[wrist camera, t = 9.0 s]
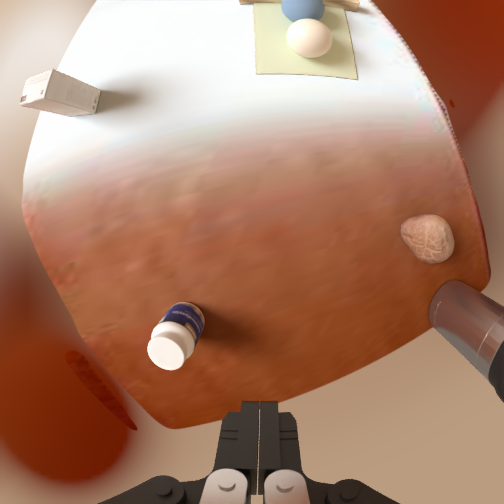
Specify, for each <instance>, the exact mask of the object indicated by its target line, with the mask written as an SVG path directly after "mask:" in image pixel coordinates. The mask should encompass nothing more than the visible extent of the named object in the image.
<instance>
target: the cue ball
mask: <svg viewBox="0 0 504 504" xmlns="http://www.w3.org/2000/svg"><path fill="white" fill-rule="evenodd" d="M287 42H288V45H289V46H290V48H291V49H292V50H293V51H294V52H295V53H297V54H298V55H300V56H303V57H307V58H316V57H320V56H322V55H324V54H325V53H327V52H328V51H329V49H330V48H331V45H332V35H331V32H330V30H329V29H328V27H327V26H326V25H325V24H323V23H322V22H320V21H318V20H315V19H309V18H306V19H300V20H297V21H296V22H294V23H293V24H292V25H291V26H290V27H289V29H288V31H287Z"/></svg>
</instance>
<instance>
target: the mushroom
mask: <svg viewBox="0 0 504 504" xmlns="http://www.w3.org/2000/svg"><path fill="white" fill-rule="evenodd" d="M401 236H402V239H403V240H404V242H405V243H406V244H407V246H408V247H409V248H410V249H411V250H412V252H413V253H414V255H415V256H416V257H417V258H418V259H419V260H421V261H424V262H426V263H431V264H433V263H438V262H443V261H445V260H446V259H448V258H449V257H450V256H451V254H452V252H453V250H454V237H453V233H452V230H451V228H450V226H449V224H448V223H447V222H446V221H445V219H443V218H442V217H440V216H438V215H435V214H422V215H419V216H416V217H411V218H409V219H407V220H405V221H404V222H403V224H402V225H401Z"/></svg>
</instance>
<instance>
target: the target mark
mask: <svg viewBox="0 0 504 504" xmlns="http://www.w3.org/2000/svg"><path fill="white" fill-rule="evenodd" d="M281 4H282V3H253V10H254V34H255V59H256V74H300V75H317V76H330V77H339V78H348V79H356V80H357V73H356V66H355V60H354V54H353V49H352V43H351V38H350V33H349V29H348V24H347V20H346V15H345V11H344V9H341V8H334V7H327V6H324V7H325V11H324V14H323V16H322V18H321V19H320V20H319V21H320V22H322V23H323V24H325V25H326V26H327V27H328V29H329V30H330V32H331V35H332V45H331V48H330V49H329V51H328V52H327V53H325V54H324V55H322V56H320V57H316V58H307V57H303V56H300V55H298V54H297V53H295V52H294V51H293V50H292V49H291V48H290V46H289V45H288V42H287V31H288V29H289V27H290V26H291V25H292V24H293V23H294V22H292V21H290V20H289V19H288V18H287V17H286V16H285V15H284V13H283V11H282V7H281Z"/></svg>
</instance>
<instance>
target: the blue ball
mask: <svg viewBox="0 0 504 504" xmlns="http://www.w3.org/2000/svg"><path fill="white" fill-rule="evenodd" d="M281 7H282V11H283V13H284V15H285V16H286V17H287V18H288V19H289V20H290V21H292V22H296V21H297V20H300V19H306V18H309V19H315V20H318V21H319V20H320V19H321V18H322V16H323V14H324V11H325V7H324V3H323V1H322V0H282V4H281Z"/></svg>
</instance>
